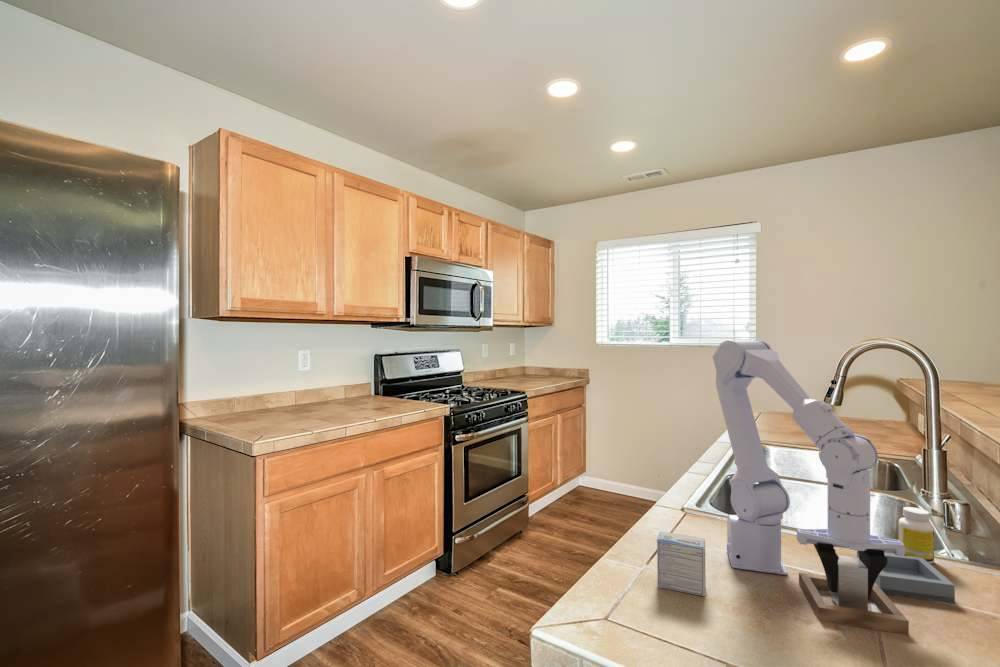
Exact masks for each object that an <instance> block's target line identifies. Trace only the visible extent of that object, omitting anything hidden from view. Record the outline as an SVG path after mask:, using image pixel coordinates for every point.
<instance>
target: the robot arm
mask: <svg viewBox="0 0 1000 667" xmlns="http://www.w3.org/2000/svg"><path fill="white" fill-rule="evenodd" d="M712 359H713V362H714V363H713V364H714V367H715V370H716V376H715V385H716V386H715V388H716V392H717V395H718V398H719V402H720V406H721V410H722V414H723V415H722V416H723V418H724V422H725V427H726V430H727V434H728V437H729V441H730V446H731V450H732V453H733V457H734V460H735V465H736V471H735V473H734V474H733V475H732V477H731V478H730V480H729V483H730V484H729V485H730V489H731V491H730V492H731V493H730V504H731V507H732V509H733V510H734V512H735V513H736V514H727V519H726V520H727V521H726V522H727V523H726V524H727V525H726V526H727V527H726V530H727V532H726V534H727V537H726V538H727V539H726V541H727V543H726V552H727V554H728V559H729V562H730V566H731V567H732V568H735V569H740V570H748V571H755V572H760V573H762V572H763V573H769V574H775V575H782V576H783V575H785V576H787V575H788V570H787V568H786V566H785V565H784V563H783V561H782V520H783V518H784V516H783V515H784V513H785V512H787V511H788V510H789V509H790V503H791V498H790V495H789V493H788V491H787V490H786V488H785V487H784V485H783V484H782V481H781V479H780V476H779V474H778V473H777V472H775V471H774V470H773V469H772V468H770V467H769V466H768V463H767V460H766V456H765V451H764V448H763V445H762V441H761V438H760V434H759V430H758V428H757V422H756V420H755V415H754V412H753V408H752V405H751V400H750V396H749V394H748V390H747V389H748V387H749V386H750V384H751V382H752V381H753V380H754V379H756V378H759V379H762V381H764V382H765V383H767V385H769V387H770V388H771V389H772V390H773V391H774V392H775V393H777V395H778V396H779V397H780V398H781V399H782V400H783V401H784V402H785V403H787V405H788V406H789V407H790V408H792V410H793V412H792V419H793V422H795V423H796V424H797V426H798V427H799V428H800V429H801V430H802V431H803V432H804V434H806V436H807V437H808V438H809V440H811V442H812V443H813V444H814V445H815V447H816V448H817V449H818V450H819V452H818V457H819V460H820V462H821V465H822V466H823V467H824V469H825V478H826V479H827V528H810V529H809V528H806V529H805V528H799V527H798V528H796V540H797V542H798V543H799V545H805V546H807V544H810V545H813V546H814V548H815V551H816V552H817V555H818V557H819V560H820V561H821V564H822V567H823V570H824V573H825V576H826V578H827V583H828V587H829V589H830V590H831V592H835V593H836V592H837V565H838V559H839V557H838V555H839V554H837V553H836V549H835V548H844V549H849V550H853V551H857V550H858V553H859V559H860V560H861V561H862V563H863V564H864V565H865V566H866V567H867V568H868V599H869V598H870V595H871V591H872V588H873V585H874V583H875V581H876V579H877V577H878V575H879V574H880V572H881V571H882V570H883V569H884V568H885V567H886V566H887V558H886V557H885V556H884V553H887V554H895V555H896V556H902V557H904V544H903V543H901V542H900V541H899V540H898V539H893V538H888V537H882V536H878V535H873V534H871V469H872V468H875V466H876V464H878V461H879V460H878V459H879V455H878V454H879V453H878V450H877V448H876V447H875V445H874V444H873V443H872V440H871V439H870V438H868V437H866V436H864V435H861V434H858V433H857V434H856V433H855V431H854V430H853V429H852V428H851V427H848V426H847V425H846V424H845V423H844V422H843V421H842V420H841V419H840V418H839V417H838V416H837V415H836V413H835V412H833V410H834V407H833V406H832V405H831V404H830V403H828V402H827V403H825V402H824V401H823V400H820V399H813V398H811V397H810V396H809V395H808V393H806V391H805V390H804V388H802V386H801V385H800V384H799V382H797V380H796V379H795V378H794V376H793V375H792V374H791V373H790V372H789V370H788V369H787V368H786V367H785V366H784V364H782V362H781V361H780V357H779V354H778V352H777V351H776V350H774V349H773V348H772V347H771V346H770V344H768V342H766V341H764V340H761V339H756V340H730V339H729V340H725V341H722V342H721V343H720V344H719V345H718V347H717V349H716V350H715V352H714V354H713V355H712ZM870 599H871V598H870Z"/></svg>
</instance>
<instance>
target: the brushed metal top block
mask: <svg viewBox="0 0 1000 667" xmlns="http://www.w3.org/2000/svg"><path fill="white" fill-rule="evenodd" d="M837 555H838V557H839V559H838V565H837V592H836V593H835V592H831V590H830V591H829V594H830V597H831V598H832V599H833V601H834V603H835V604H836V605H835V606H840V607H846V608H853V609H859V610H866V611H869V597H868V568H867V567H866V566H865V565H864V564H863V563H862V561H861V560H860V559H859V558H857V556H856V557H855V556H849V555H848V556H847V555H840V554H837Z"/></svg>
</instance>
